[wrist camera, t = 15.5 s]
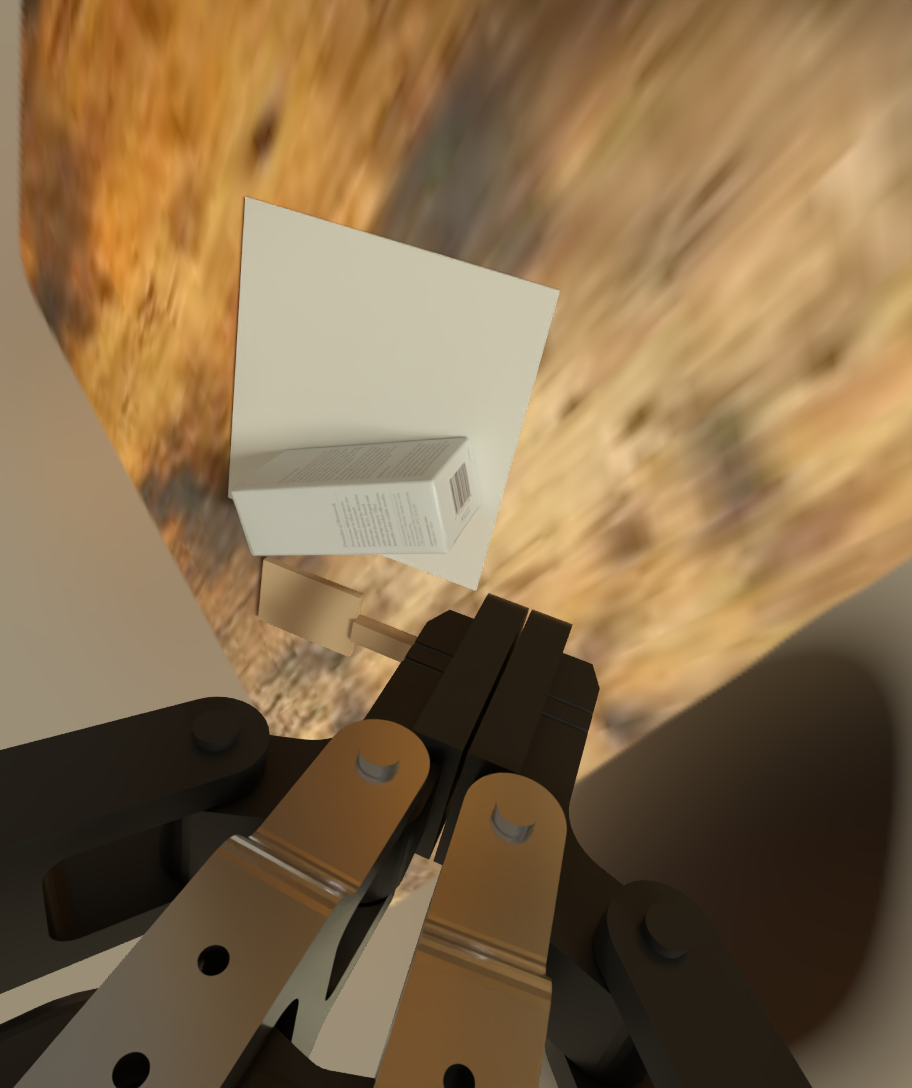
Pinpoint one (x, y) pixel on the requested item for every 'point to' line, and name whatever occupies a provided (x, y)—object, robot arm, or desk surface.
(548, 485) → the desk surface
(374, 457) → the skincare box
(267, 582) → the wooden turner
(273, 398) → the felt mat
